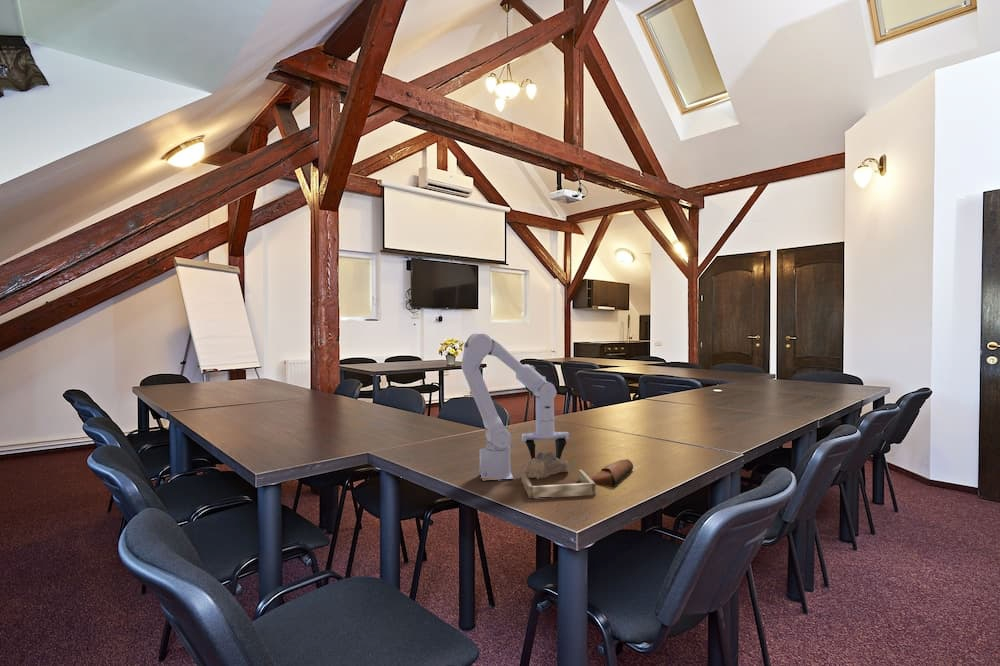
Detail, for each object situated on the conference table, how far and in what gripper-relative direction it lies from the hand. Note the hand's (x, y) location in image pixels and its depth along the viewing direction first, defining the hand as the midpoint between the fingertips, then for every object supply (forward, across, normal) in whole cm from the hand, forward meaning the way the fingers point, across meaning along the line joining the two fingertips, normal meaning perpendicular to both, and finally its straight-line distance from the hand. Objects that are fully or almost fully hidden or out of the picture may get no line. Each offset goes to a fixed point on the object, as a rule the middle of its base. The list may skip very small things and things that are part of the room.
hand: (545, 463), depth 151 cm
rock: (+3, 0, +3) cm, 4 cm away
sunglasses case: (+4, -18, +8) cm, 20 cm away
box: (+3, 0, +15) cm, 16 cm away
